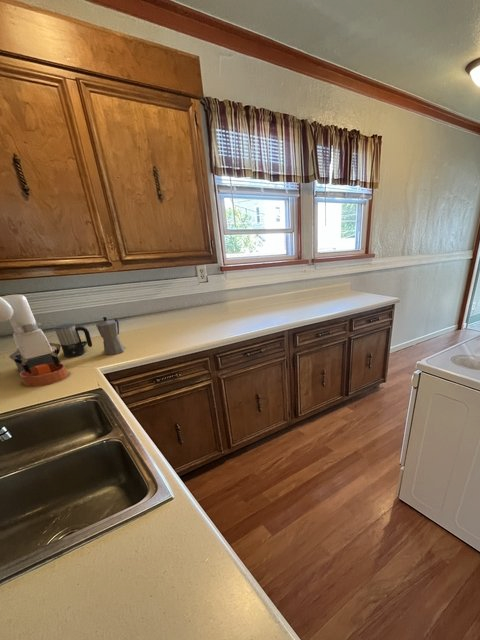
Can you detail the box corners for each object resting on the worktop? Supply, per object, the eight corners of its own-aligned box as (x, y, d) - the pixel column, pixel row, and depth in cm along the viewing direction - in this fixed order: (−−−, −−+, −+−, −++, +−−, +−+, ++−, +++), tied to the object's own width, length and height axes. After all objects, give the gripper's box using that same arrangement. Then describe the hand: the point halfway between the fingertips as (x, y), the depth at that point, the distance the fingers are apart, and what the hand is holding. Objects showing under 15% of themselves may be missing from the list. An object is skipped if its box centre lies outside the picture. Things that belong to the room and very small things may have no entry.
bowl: (30, 391, 126) (25, 380, 124) (20, 382, 135) (15, 371, 133) (74, 379, 137) (70, 368, 134) (61, 371, 145) (57, 360, 143)
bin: (27, 378, 138) (20, 362, 135) (19, 371, 146) (12, 355, 142) (62, 369, 147) (56, 353, 144) (53, 363, 155) (47, 347, 151)
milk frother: (68, 358, 160) (57, 329, 153) (55, 352, 168) (44, 324, 162) (98, 351, 170) (89, 322, 163) (85, 345, 178) (76, 318, 172)
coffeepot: (115, 356, 161) (105, 320, 153) (98, 356, 162) (86, 320, 154) (132, 346, 175) (123, 313, 167) (116, 346, 176) (106, 313, 168)
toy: (42, 382, 133) (36, 368, 130) (39, 379, 135) (33, 366, 133) (53, 379, 136) (48, 365, 133) (50, 376, 138) (45, 363, 135)
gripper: (48, 322, 134) (64, 361, 142) (-5, 332, 122) (15, 373, 130) (54, 324, 129) (70, 364, 137) (0, 335, 118) (20, 378, 126)
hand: (43, 369), depth 134 cm, fingers open, 9 cm apart
